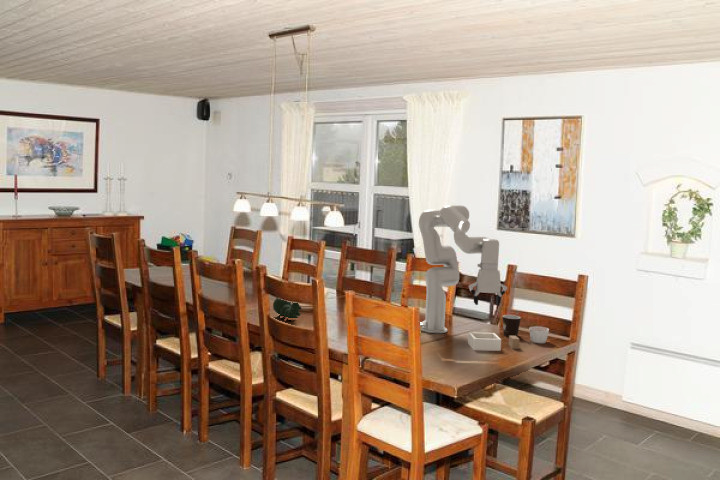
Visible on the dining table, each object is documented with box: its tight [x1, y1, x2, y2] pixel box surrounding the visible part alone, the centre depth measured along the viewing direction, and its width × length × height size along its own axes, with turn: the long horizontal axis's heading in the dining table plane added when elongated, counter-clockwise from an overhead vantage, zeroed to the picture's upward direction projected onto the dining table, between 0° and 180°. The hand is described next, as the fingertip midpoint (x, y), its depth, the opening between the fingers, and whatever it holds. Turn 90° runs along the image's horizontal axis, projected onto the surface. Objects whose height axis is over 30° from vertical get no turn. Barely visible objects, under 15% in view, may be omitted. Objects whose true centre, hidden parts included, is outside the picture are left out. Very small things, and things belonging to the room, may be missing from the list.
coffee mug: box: [502, 314, 521, 338], centre depth 331 cm, size 12×9×10 cm
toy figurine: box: [272, 297, 302, 318], centre depth 350 cm, size 9×19×25 cm
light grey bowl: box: [529, 325, 550, 344], centre depth 323 cm, size 9×9×6 cm
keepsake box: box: [467, 331, 502, 352], centre depth 306 cm, size 12×12×6 cm
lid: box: [508, 336, 521, 350], centre depth 308 cm, size 12×12×6 cm
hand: (486, 304), depth 304 cm, fingers open, 9 cm apart
